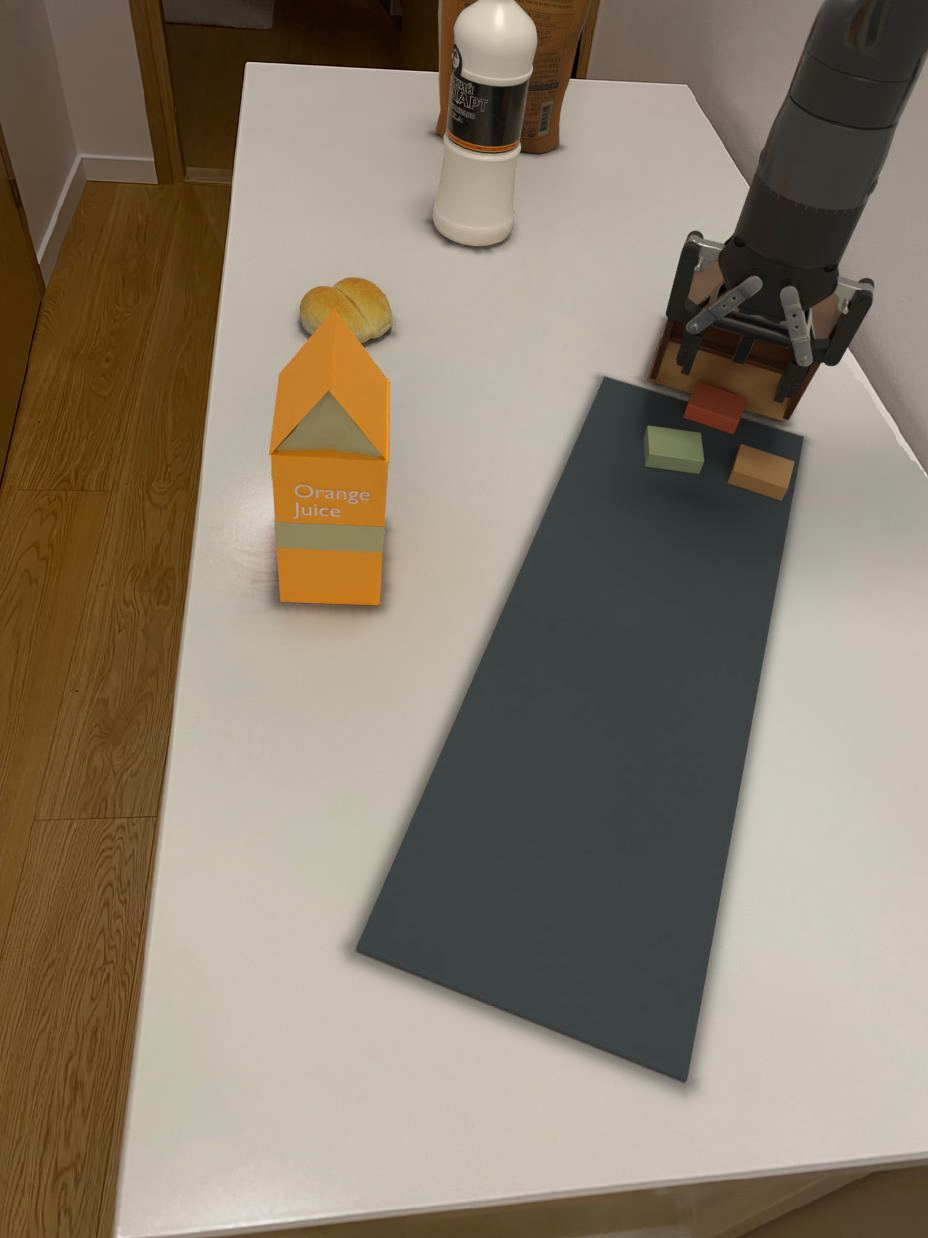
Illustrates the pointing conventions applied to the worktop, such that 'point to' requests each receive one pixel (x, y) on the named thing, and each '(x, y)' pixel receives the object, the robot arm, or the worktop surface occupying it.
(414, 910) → the mat
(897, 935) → the worktop surface
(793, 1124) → the worktop surface
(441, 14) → the pancake mix bag
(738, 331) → the wooden box with handle
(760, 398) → the stand
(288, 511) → the orange juice
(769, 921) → the worktop surface
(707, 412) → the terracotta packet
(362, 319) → the bread roll
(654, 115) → the worktop surface
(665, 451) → the block
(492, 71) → the white bottle
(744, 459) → the kraft packet
